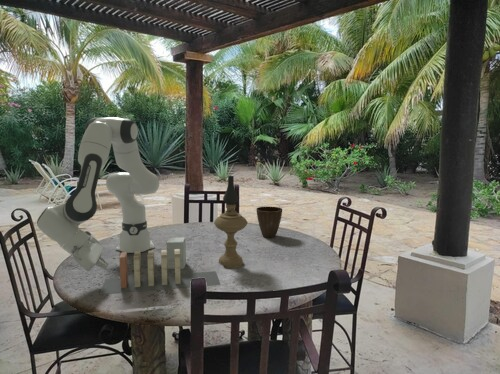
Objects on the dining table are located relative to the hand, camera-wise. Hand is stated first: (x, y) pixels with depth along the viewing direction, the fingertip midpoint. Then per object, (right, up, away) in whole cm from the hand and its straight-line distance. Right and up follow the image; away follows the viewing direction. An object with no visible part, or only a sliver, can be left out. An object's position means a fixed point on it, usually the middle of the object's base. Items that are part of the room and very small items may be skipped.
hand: (106, 266), depth 137 cm
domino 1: (+6, -7, +2) cm, 10 cm away
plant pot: (+65, +2, +73) cm, 98 cm away
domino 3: (+15, -7, +5) cm, 18 cm away
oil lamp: (+45, -5, +28) cm, 54 cm away
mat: (+19, -8, +6) cm, 22 cm away
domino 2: (+11, -7, +3) cm, 13 cm away
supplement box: (+22, -5, +23) cm, 32 cm away
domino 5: (+25, -7, +7) cm, 27 cm away
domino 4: (+20, -7, +6) cm, 22 cm away
